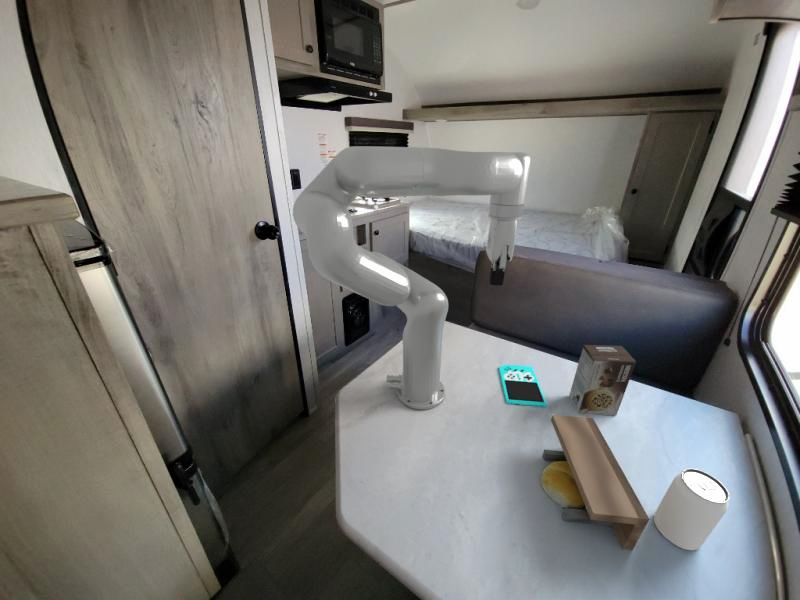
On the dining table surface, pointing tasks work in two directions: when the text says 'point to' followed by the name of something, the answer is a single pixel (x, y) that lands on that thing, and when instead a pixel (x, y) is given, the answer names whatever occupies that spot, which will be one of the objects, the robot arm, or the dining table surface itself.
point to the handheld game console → (521, 386)
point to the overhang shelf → (597, 480)
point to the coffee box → (601, 379)
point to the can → (691, 508)
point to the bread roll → (561, 485)
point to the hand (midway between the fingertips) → (495, 283)
